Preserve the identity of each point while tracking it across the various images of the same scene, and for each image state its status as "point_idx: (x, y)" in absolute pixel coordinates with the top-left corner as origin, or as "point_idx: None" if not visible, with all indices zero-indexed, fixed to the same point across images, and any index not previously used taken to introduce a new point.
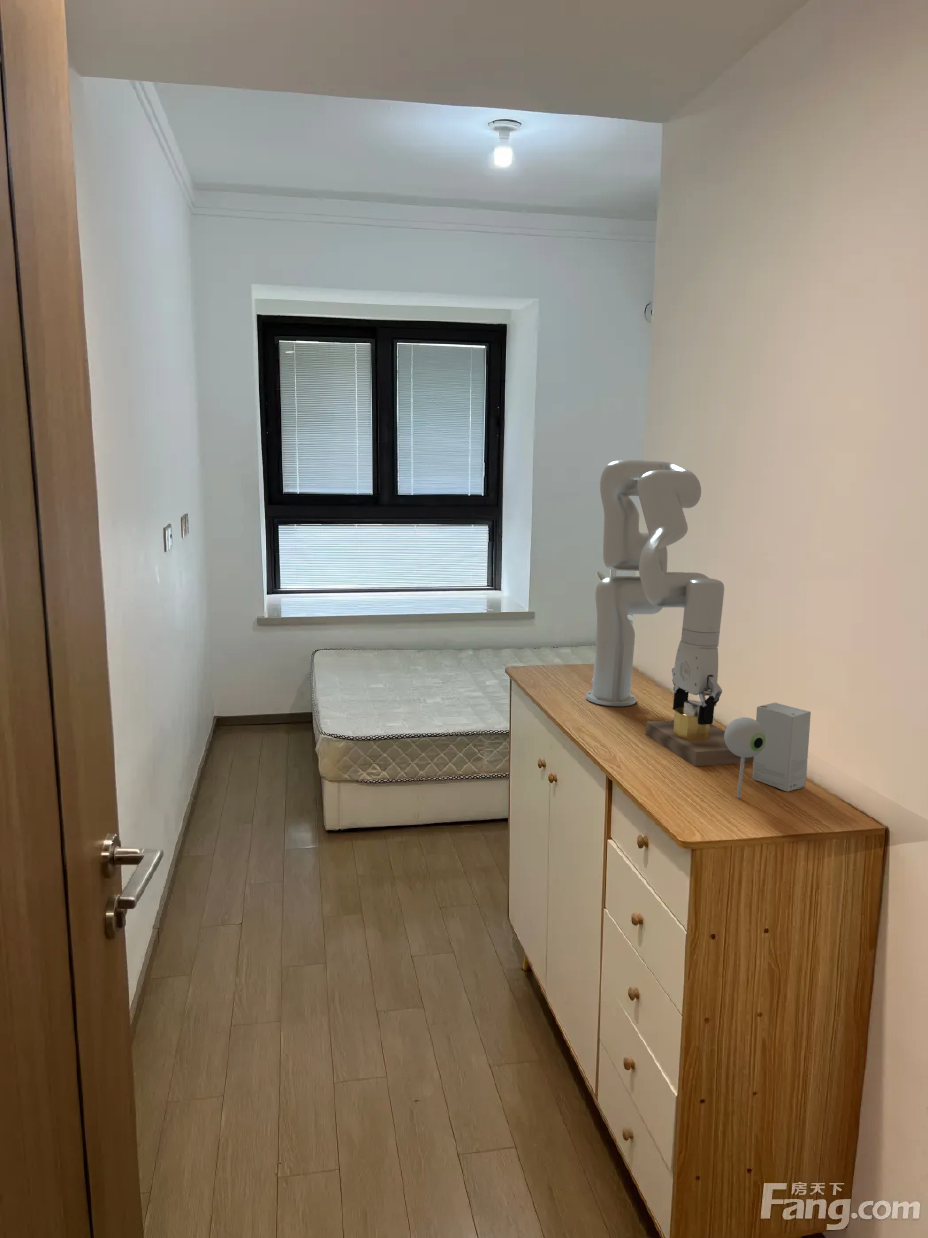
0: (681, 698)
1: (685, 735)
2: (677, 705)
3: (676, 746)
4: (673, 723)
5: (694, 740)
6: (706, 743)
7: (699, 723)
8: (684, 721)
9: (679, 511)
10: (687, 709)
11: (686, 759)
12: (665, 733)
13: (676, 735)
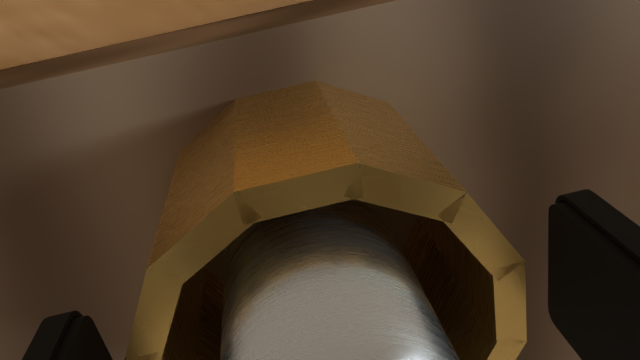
0: (637, 349)
1: (186, 155)
2: (580, 252)
3: (144, 46)
4: (581, 167)
5: (159, 206)
6: (96, 272)
7: (42, 323)
8: (190, 198)
9: None
10: (274, 314)
11: (1, 70)
12: (339, 14)
13: (264, 93)
